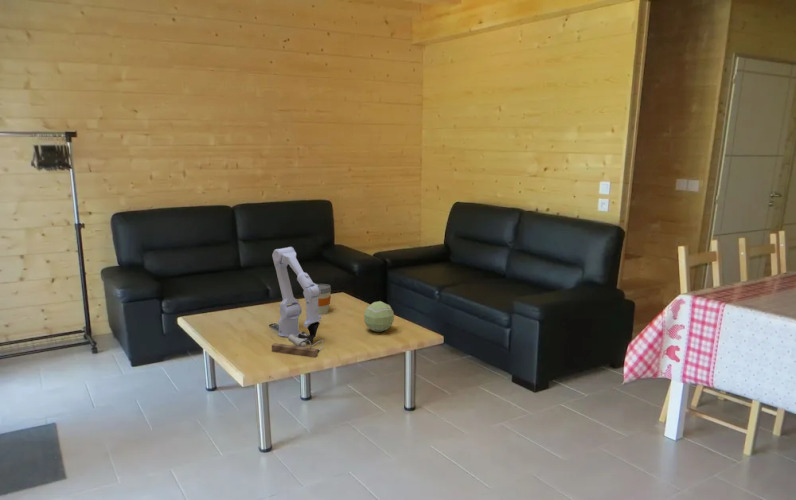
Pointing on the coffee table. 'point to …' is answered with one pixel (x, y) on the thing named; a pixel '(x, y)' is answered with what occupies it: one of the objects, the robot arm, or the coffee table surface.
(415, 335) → the coffee table surface
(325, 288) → the reusable coffee cup
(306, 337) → the clip-on lamp
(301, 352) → the bar
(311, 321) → the robot arm
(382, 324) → the decorative sphere
